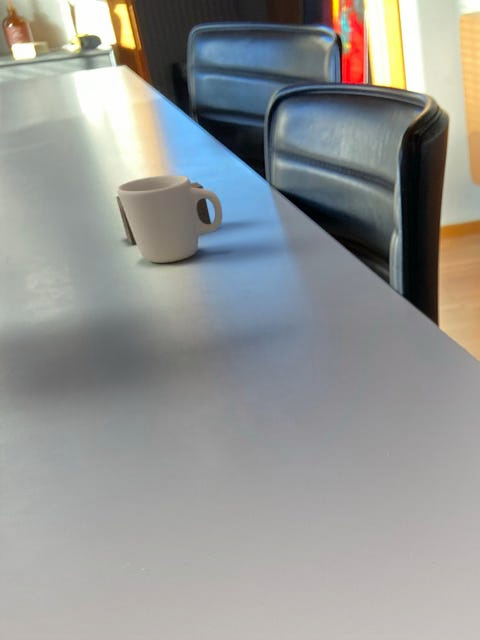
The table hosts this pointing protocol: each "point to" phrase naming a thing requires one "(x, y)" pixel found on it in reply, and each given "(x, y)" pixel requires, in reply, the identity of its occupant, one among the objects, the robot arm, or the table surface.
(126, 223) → the stop strip
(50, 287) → the table surface
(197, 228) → the cup
